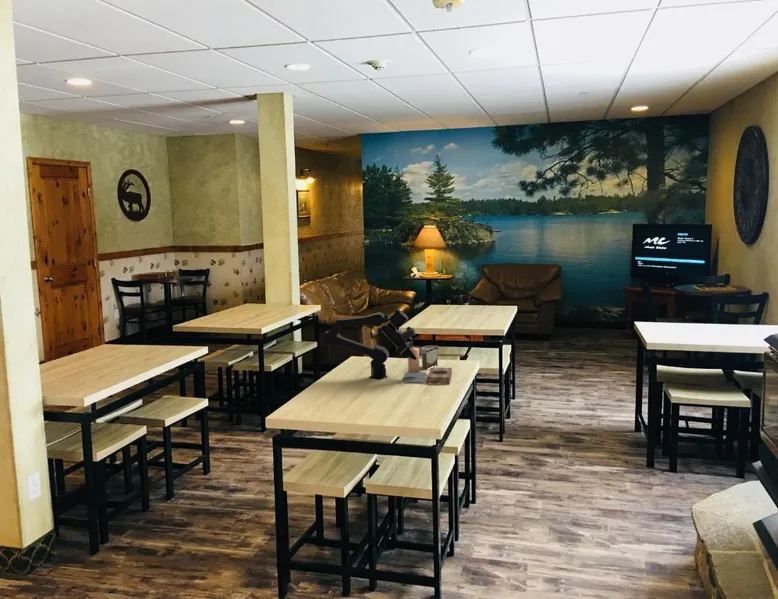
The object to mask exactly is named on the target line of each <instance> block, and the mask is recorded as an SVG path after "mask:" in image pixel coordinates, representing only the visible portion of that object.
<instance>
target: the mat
mask: <svg viewBox="0 0 778 599" xmlns="http://www.w3.org/2000/svg"><path fill="white" fill-rule="evenodd" d="M426 373H427V372H425V371H421V372H420V371H419V372H418V373H409V372H408V371H405V373H404V376H402V379H401V382H407V383H406V384H424V382H425V380H426V377H425V376H427V374H426ZM424 379H425V380H424Z"/></svg>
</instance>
